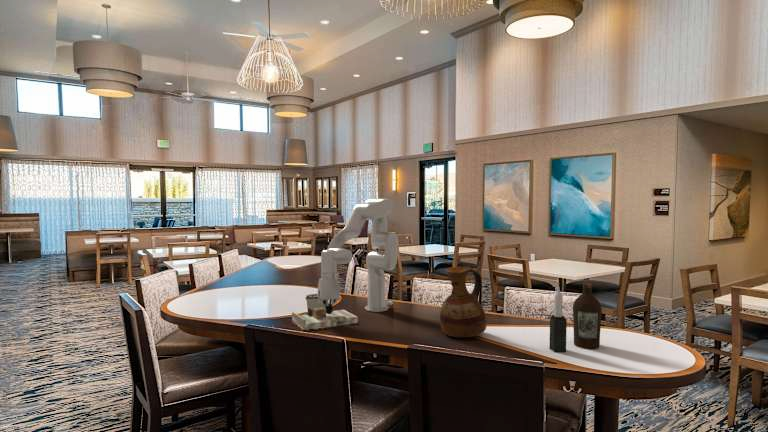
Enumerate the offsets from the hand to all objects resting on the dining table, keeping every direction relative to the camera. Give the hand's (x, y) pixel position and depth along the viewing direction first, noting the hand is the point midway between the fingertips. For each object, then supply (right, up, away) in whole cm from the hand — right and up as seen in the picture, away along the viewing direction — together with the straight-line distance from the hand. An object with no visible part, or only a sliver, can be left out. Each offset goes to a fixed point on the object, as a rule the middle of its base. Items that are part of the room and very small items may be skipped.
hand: (328, 313), depth 206 cm
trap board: (-1, -4, -1) cm, 5 cm away
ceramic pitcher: (+61, -5, -19) cm, 64 cm away
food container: (-7, -4, +16) cm, 18 cm away
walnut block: (-4, -1, -2) cm, 5 cm away
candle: (+95, -6, -38) cm, 102 cm away
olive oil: (+109, -6, -33) cm, 114 cm away
